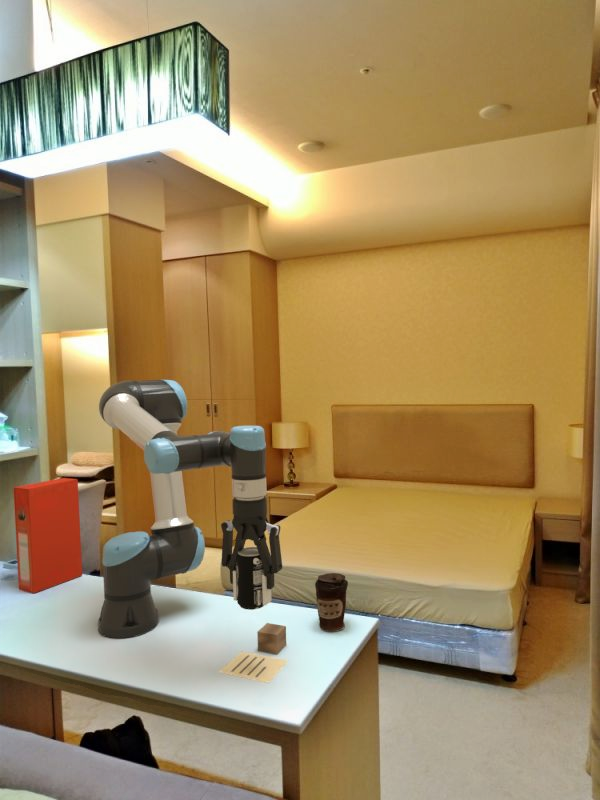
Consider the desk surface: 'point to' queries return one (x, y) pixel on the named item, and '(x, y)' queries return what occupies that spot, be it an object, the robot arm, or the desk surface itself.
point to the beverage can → (249, 579)
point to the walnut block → (271, 638)
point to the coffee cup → (331, 601)
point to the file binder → (47, 533)
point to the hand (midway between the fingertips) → (252, 600)
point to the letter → (254, 666)
